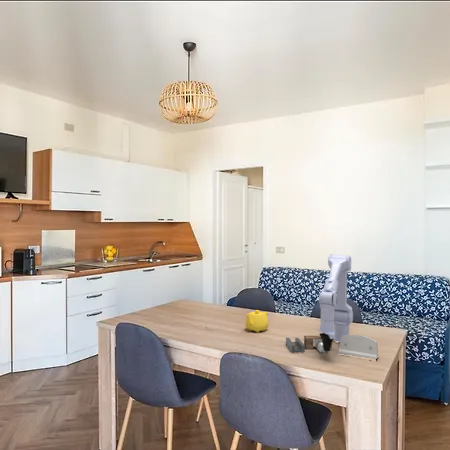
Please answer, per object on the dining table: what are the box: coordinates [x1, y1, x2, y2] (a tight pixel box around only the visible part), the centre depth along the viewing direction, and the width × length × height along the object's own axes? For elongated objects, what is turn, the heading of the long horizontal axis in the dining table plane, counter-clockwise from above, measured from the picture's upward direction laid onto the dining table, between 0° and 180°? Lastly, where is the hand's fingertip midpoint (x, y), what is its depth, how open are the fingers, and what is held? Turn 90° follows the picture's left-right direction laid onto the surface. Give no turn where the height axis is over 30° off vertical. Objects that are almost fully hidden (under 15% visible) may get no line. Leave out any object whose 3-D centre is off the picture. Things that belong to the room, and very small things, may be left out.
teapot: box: [245, 309, 270, 334], centre depth 207 cm, size 18×11×11 cm, turn 135°
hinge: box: [337, 334, 379, 360], centre depth 169 cm, size 17×5×10 cm, turn 61°
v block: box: [285, 337, 306, 353], centre depth 178 cm, size 12×6×3 cm, turn 3°
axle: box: [313, 339, 329, 354], centre depth 176 cm, size 10×4×4 cm, turn 3°
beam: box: [303, 335, 333, 350], centre depth 179 cm, size 4×12×5 cm, turn 93°
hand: (326, 350), depth 166 cm, fingers closed
